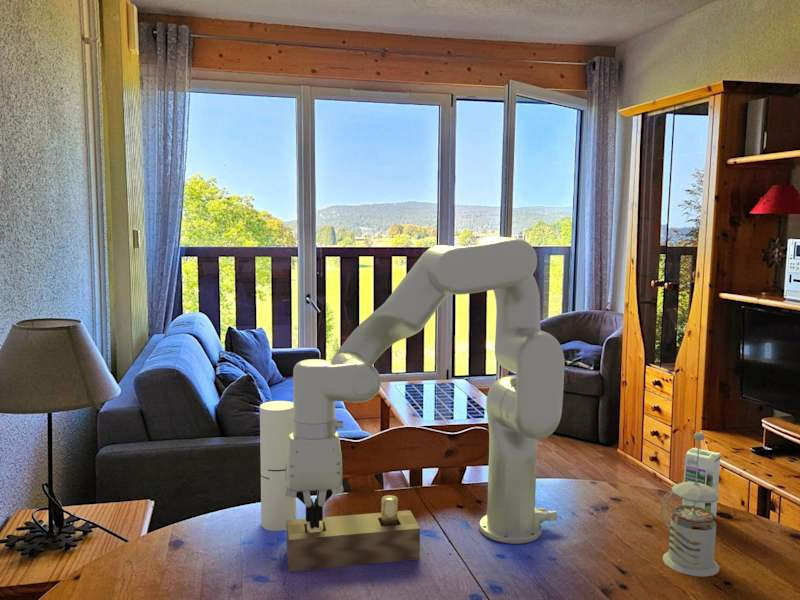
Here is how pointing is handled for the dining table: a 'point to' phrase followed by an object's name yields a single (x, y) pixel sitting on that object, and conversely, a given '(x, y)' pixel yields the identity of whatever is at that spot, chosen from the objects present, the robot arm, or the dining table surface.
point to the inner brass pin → (389, 510)
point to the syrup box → (702, 474)
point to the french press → (694, 554)
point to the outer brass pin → (315, 528)
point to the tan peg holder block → (352, 541)
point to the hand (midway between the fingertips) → (314, 524)
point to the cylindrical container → (275, 464)
